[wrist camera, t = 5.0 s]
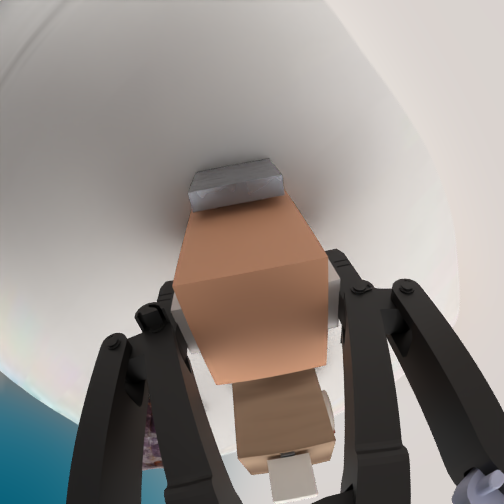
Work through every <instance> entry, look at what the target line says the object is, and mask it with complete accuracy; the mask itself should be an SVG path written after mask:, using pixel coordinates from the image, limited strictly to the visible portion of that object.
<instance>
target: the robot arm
mask: <svg viewBox="0 0 504 504" xmlns="http://www.w3.org/2000/svg"><path fill="white" fill-rule="evenodd" d="M325 253H326V254H327V256H328V329H331V328H335V327H338V322H339V320H340V322H341V324H342V331H341V343H342V349H343V367H344V396H345V445H344V470H343V476H342V483H341V493H340V494H336V495H332V496H328V497H325V498H323V499H321V500H319V501H316V502H314V503H312V504H411V488H410V487H411V486H410V463H409V454H408V451H407V448H406V447H404V446H403V444H402V440H401V429H400V419H399V411H398V403H397V396H396V389H395V382H394V376H393V370H392V364H391V359H390V353H389V348H388V343H387V339H388V341H389V343H390V345H391V347H392V349H393V351H394V353H395V355H396V357H397V359H398V361H399V363H400V365H401V367H402V369H403V371H404V373H405V375H406V377H407V379H408V381H409V383H410V385H411V387H412V389H413V391H414V394H415V395H416V398H417V400H418V402H419V405H420V406H421V409H422V411H423V413H424V416H425V418H426V420H427V422H428V425H429V427H430V430H431V432H432V435H433V437H434V439H435V442H436V444H437V447H438V449H439V452H440V455H441V457H442V460H443V462H444V465H445V467H446V469H447V472H448V474H449V475H450V477H451V479H452V480H453V482H454V483H455V484H456V486H457V487H456V489H455V491H454V495H453V496H452V503H453V504H504V412H503V410H502V408H501V406H500V404H499V402H498V400H497V398H496V397H495V395H494V394H493V391H492V390H491V388H490V386H489V384H488V383H487V381H486V379H485V378H484V376H483V374H482V373H481V371H480V370H479V368H478V367H477V365H476V363H475V362H474V360H473V358H472V357H471V355H470V354H469V352H468V351H467V349H466V348H465V346H464V345H463V343H462V342H461V340H460V339H459V337H458V336H457V335H456V333H455V332H454V330H453V329H452V327H451V326H450V325H449V323H448V322H447V320H446V319H445V318H444V316H443V315H442V314H441V312H440V311H439V310H438V308H437V307H436V306H435V304H434V303H433V302H432V300H431V299H430V298H429V297H428V295H427V294H426V293H425V292H424V290H423V289H422V288H421V287H420V285H419V284H418V283H416V282H415V281H413V280H411V279H399V280H397V281H395V282H394V283H393V287H392V289H377V288H374V286H373V285H372V284H371V283H370V282H368V281H365V280H362V279H361V277H360V276H359V275H358V273H357V272H356V270H355V269H354V267H353V266H352V265H351V263H350V261H349V260H348V259H347V257H346V256H345V254H344V253H343V252H341V251H339V250H338V249H333V250H328V251H325ZM173 281H174V280H173ZM173 281H167V282H165V283H164V284H163V286H162V287H161V288H160V291H159V296H158V299H157V303H156V302H153V303H148V304H146V305H144V306H142V307H141V308H140V309H138V311H137V312H136V314H135V319H136V321H137V323H138V325H139V327H140V328H141V330H142V333H141V334H139V335H136V336H134V337H131V338H128V339H127V338H126V336H125V335H124V334H122V333H115V334H112V335H110V336H108V337H107V338H106V339H105V340H104V341H103V343H102V345H101V348H100V351H99V354H98V357H97V360H96V363H95V366H94V370H93V373H92V376H91V380H90V383H89V387H88V390H87V394H86V398H85V402H84V406H83V410H82V414H81V418H80V422H79V427H78V431H77V436H76V441H75V446H74V452H73V457H72V463H71V469H70V476H69V483H68V491H67V500H66V504H141V485H142V464H143V449H144V436H145V426H146V416H147V407H148V398H149V395H150V402H151V408H152V414H153V419H154V425H155V430H156V435H157V440H158V445H159V450H160V454H161V458H162V463H163V467H164V471H165V474H166V479H167V488H166V489H165V490H164V497H165V502H166V504H243V503H242V501H241V500H240V498H239V496H238V495H237V493H236V492H235V490H234V488H233V486H232V483H231V481H230V478H229V476H228V473H227V471H226V468H225V466H224V463H223V461H222V458H221V455H220V453H219V450H218V447H217V444H216V442H215V439H214V436H213V433H212V430H211V427H210V425H209V422H208V419H207V416H206V413H205V409H204V406H203V403H202V400H201V397H200V394H199V390H198V387H197V384H196V380H195V377H194V373H193V370H192V366H191V363H190V360H189V358H188V356H187V347H188V349H189V351H190V353H191V354H195V353H201V352H200V350H199V348H198V346H197V343H196V341H195V339H194V337H193V335H192V332H191V330H190V328H189V325H188V323H187V321H186V318H185V316H184V314H183V311H182V309H181V307H180V304H179V302H178V299H177V297H176V294H175V292H174V289H173V287H172V285H173Z"/></svg>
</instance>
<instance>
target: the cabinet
mask: <svg viewBox="0 0 504 504" xmlns="http://www.w3.org/2000/svg"><path fill="white" fill-rule="evenodd" d="M232 388H233V403H234V417H235V431H236V444H237V456H238V459H239V461H240V462H241V463H242V464H243V465H244V467H245V468H246V469H247V470H248V471H249V472H250V474H251V475H255V474H264V473H269V470H268V463H267V460H272V459H279V458H284V457H290V456H295V455H300V454H305V453H309V455H310V459H311V464H312V465H313V464H317V463H322V462H326V461H330V459H331V455H332V452H333V448H334V445H335V441H336V439H335V436H334V433H335V430H334V417H333V411H332V407H331V403H330V400H329V397H328V395H327V392H326V391H325V390H323V391H321V388H320V385H319V382H318V378H317V375H316V372H315V369H314V368H311V369H307V370H302V371H298V372H293V373H288V374H283V375H278V376H273V377H267V378H262V379H256V380H250V381H243V382H236V383H232Z"/></svg>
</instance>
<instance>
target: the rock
mask: <svg viewBox="0 0 504 504" xmlns="http://www.w3.org/2000/svg"><path fill="white" fill-rule="evenodd" d="M154 468H164V467H163V463H162V458H161V454H160V450H159V445H158V440H157V435H156V430H155V425H154V419H153V414H152V408H151V402H150V399H148V407H147V416H146V426H145V436H144V449H143V464H142V470H147V469H154Z"/></svg>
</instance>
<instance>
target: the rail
mask: <svg viewBox="0 0 504 504" xmlns="http://www.w3.org/2000/svg"><path fill="white" fill-rule="evenodd" d="M188 195H189V199H190V203H191V207H192V211H193V213H194V212H199V211H204V210H208V209H213V208H220V207H225V206H230V205H235V204H241V203H246V202H251V201H257V200H262V199H266V198H271V197H277V196H283V195H285V193H284V185H283V178H282V174H281V173H280V172H279V170H278V169H277V168H276V167H275V165H274V164H273V163H272V162H271V160H270V159H264V160H258V161H252V162H247V163H241V164H236V165H230V166H225V167H220V168H216V169H211V170H206V171H201V172H197V173H196V174H195V176H194V179H193V181H192V184H191V187H190V189H189V192H188Z"/></svg>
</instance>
